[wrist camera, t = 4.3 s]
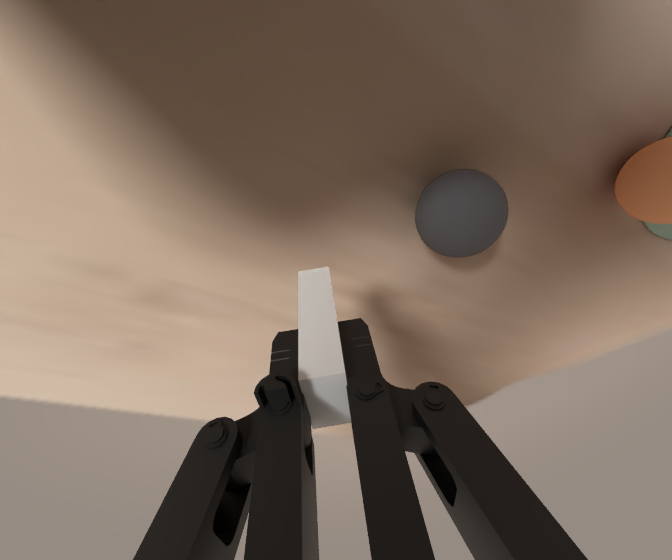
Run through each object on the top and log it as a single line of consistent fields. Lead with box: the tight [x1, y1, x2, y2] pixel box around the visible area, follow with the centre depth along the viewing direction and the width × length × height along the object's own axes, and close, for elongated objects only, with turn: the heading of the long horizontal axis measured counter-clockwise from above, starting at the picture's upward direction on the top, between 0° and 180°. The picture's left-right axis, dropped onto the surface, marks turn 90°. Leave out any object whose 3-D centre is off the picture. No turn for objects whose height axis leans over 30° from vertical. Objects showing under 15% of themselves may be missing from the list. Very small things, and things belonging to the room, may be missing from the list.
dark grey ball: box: [415, 169, 508, 257], centre depth 20 cm, size 6×6×6 cm
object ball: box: [615, 137, 672, 224], centre depth 20 cm, size 6×6×6 cm
